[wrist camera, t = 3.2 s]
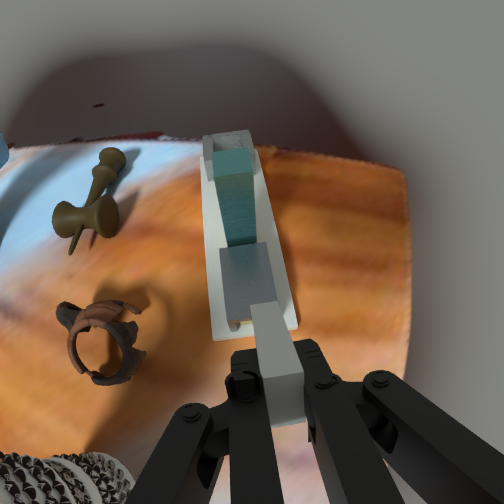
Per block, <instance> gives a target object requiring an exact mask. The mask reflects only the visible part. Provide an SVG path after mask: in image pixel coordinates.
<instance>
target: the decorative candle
mask: <svg viewBox="0 0 504 504" xmlns="http://www.w3.org/2000/svg"><path fill="white" fill-rule="evenodd" d="M0 460H2V461H0V504H124V502H125V501H126V499H127V497H128V495H129V494H130V492H131V490H132V488H133V487H134V485H135V483H136V482H135V481H134V479H133V477H132V475H131V474H130V472H129V470H128V469H127V468H126V467H125V466H124V465H123V464H122V463H121V462H120V461H119V460H117V459H116V458H114V457H112V456H110V455H108V454H106V453H99V452H88V454H85V453H80V454H79V457H78V456H77V455H76V454H70V455H69V456H68V455H66V454H62V455H60V456H58V455H53V456H52V457H50V458H45V459H41V460H40V459H38V458H35V457H32V456H29V455H22V456H19V455H18V454H17V453H11V455H9V454H6V455H4V454H3V453H2V452H1V451H0Z"/></svg>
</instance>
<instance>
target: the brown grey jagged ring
mask: <svg viewBox="0 0 504 504" xmlns="http://www.w3.org/2000/svg"><path fill="white" fill-rule="evenodd" d="M122 307H125V308H127V309H128V310H130V311H131V312H132V313H134V314H135V315H137V314H141V311H140V310H139V309H137V308H136V307H134V306H132V305H129V304H128V303H124V302H122V301H117V300H107V301H100V302H96V303H93V304H90V305H88V306H87V307H86V309H81V308H79V307H77V306H76V305H74V304H71V303H69V302H62V303H60V304H59V305H58V306H57V310H56V316H57V319H58V321H59V322H60V323H61V324H62V325H63V326H65V327H66V328H67V330H68V332H69V335H68V341H67V347H68V354H69V357H70V359H71V362H72V364H73V366H74V367H75V368H76V370H77V371H78V372H79V373H80V374H83V373H84V372H85V373H87V374H88V375H89V376H90V377H91V379H92V381H93V382H94V384H96V385H102V386H110V385H115V384H121V383H124V382H126V381H128V380H130V379H131V376H133V375H135V373H136V371H137V369H138V366H139V364H140V362H141V360H142V359H143V358H144V356H145V354H146V352H145V351H140V350H138V349H135V348H133V347H132V345H133V344H134V343H135V342H136V339H137V332H138V326H137V324H136V322H135V321H131V322H129V323H127V322H113V320H114V318H115V317H116V316H117V315H119V314H120V313H121V312H122ZM91 326H97V327H100V328H103V329H106V330H107V331H108V332H109V333H111V334H112V335H113V336H114V338H115V339H116V340H117V342H118V344H119V345H120V348H121V351H122V353H123V361H122V367H121V369H120V370H119V372H118V373H116V374H115V375H113V376H110V377H105V375H104V374H102V373H100V372H97V371H89V370H88V369H87V368H86V367H85V365H84V364H83V363H82V361H81V360H80V358H79V356H78V353H77V350H76V338H77V335H78V333H79V332H89V331H90V328H91Z"/></svg>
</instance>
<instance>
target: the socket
mask: <svg viewBox="0 0 504 504" xmlns="http://www.w3.org/2000/svg"><path fill="white" fill-rule="evenodd" d="M245 147H248V149H249V154H250V158H251V163H252V167H253V174H254V175H256V156H255V150H254V146H253V142H252V138H251V134H250V130H241V131H233V132H226V133H219V134H212V135H205V136H203V157H204V165H205V170H206V174H207V179H208V182H210V181H214V177H213V164H212V152H216V151H223V150H230V149H237V148H245Z"/></svg>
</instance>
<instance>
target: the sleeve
mask: <svg viewBox="0 0 504 504" xmlns="http://www.w3.org/2000/svg"><path fill="white" fill-rule="evenodd" d="M219 255H220V265H221V275H222V284H223V293H224V302H225V310H226V319H227V323H228V326H229V328H230V331H231V332H236V331H238V329H237V322H244V321H251V320H252V315H251V308H250V305H253V304H260V303H267V302H273V301H278V299H277V294H276V289H275V284H274V279H273V274H272V269H271V264H270V259H269V254H268V249H267V244H266V242H261V243H254V244H247V245H240V246H233V247H226V248H219Z"/></svg>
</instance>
